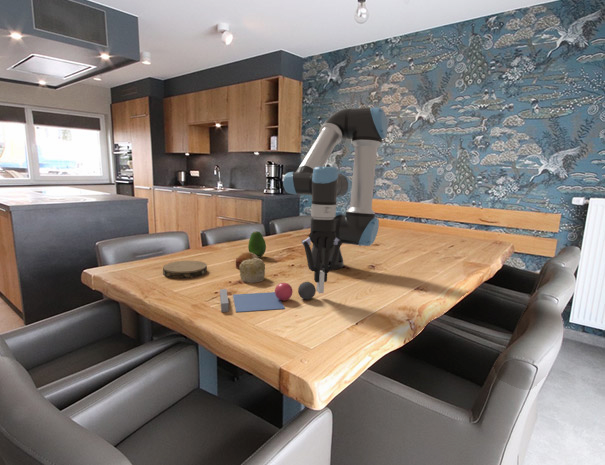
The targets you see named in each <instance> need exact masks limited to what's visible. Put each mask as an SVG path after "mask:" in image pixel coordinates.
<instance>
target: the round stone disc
mask: <svg viewBox="0 0 605 465" xmlns="http://www.w3.org/2000/svg"><path fill="white" fill-rule="evenodd" d="M207 267H208V264H207V263H206V262H204V261H201V260H200V261H199V260H178V261H177V260H176V261H172V262H169V263H165V264H164V265H163V266H162V274H163V276H164V277H166V278H169V279H173V280H174V279H176V280H177V279H178V280H181V279H182V280H183V279H184V280H187V279H195V278H199V277H202V276H203V275H205V274H207V273H208V268H207Z"/></svg>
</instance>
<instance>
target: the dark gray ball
mask: <svg viewBox="0 0 605 465" xmlns="http://www.w3.org/2000/svg"><path fill="white" fill-rule="evenodd" d="M316 290H317V288H316V286H315V285H314V284H313V283H312V282H310V281H303V282H302V283H301V284H299V286H298V288H297V293H298V295H299V296H300V298H301V299H303V300H311V299H312V298H314V297H315V295H316V292H317V291H316Z"/></svg>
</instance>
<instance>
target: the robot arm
mask: <svg viewBox="0 0 605 465" xmlns="http://www.w3.org/2000/svg"><path fill="white" fill-rule="evenodd" d="M318 134H319V135H318V136H317V138H316V140H314V142H313V144H312V145H311V147H310V149H309V150H308V152H306V153H307V154H306V155H305V157H304V158H303V160H302V161H301V163H300V165H299V167H298V168H297V169H296V171H289V172H286V173H285V175H284V177H283V181H282V183H283V184H282V185H283V188H284V191H285V192H286V193H288V194H291V195H296V196H298V195H300V196H311V206H310V207H311V210H310V211H311V212H310V216H311V217H312V218H311V219H310V232H309V235H308V237H307V238H306V239H302V240H301V244H302V245H303V248H304V250H305V251H304V252H305V257H306V260H307V265H308V266H307V267H308V269H309V270H310V271H311V272H314V274H313V276H314V277H313V280H314V282H315V283H316V292H317V293H318V294H324V292H325V291H324V290H325V283H327V281H328V274H329V272H330V271H333V270H340V269H342V268H343V267H344V257H343V255H342V251H341V247H342V245H344V244H346V245H354V246H359V247H361V246H362V247H363V246H364V247H370V246H371V245H373V244H374V242H375V240H376V239H377V238H376V237H377V236H378V235H377V234H378V232H379V226H380V224H379V223H380V221H379V218H378V217H376V213H375V211H374V210H373V196H374V186H375V177H376V175H375V173H376V165H377V164H376V162H377V154H378V152H377V150H378V148H379V147H380V146H381V145H382V143H383V142H382V140H385V139H386V138H387V136H388V121H387V115H386V112H385V110H384V109H383V108H381V107H372V106H370V107H360V108H345V109H340V110H339V111H336V112H335V113H334V114H332V115H330V116H329V117H328V118H327V119H326V120H325V121H324V122H323V123H322V125H321V126H320V128H319V131H318ZM347 139H348V140H351V144H352V145H353V146H354V156H353V171H352V181H351V180H350V178H349V176H347V175H346V174H343V173H339V170H338V168H337V167H336V166H335V167H334V166H325V164H326V163H327V161H328V160H329V158H330V157H331V155H332V152H333V150H334V149H335V147H336V145H338V144H340V143H341V141H342V140H347ZM350 191H351V193H350V207H349V208H348V209H346V210H345V215H344V214H343V213H342V211H341V210H339V211H338V210H337V200H338V199H337V198H341V197H343V196H346V195H347V194H348V193H349V192H350ZM311 243H312V247H311Z"/></svg>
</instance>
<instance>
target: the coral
mask: <svg viewBox="0 0 605 465" xmlns="http://www.w3.org/2000/svg"><path fill="white" fill-rule="evenodd" d="M238 270H239V276H240V280H241V282H245V283H251V284H253V283H261V282H262V281H263V282H264V279H265V276H266V271H265V270H266V264H265V263H264V261H263V260H262V259H261V258H260V257H258V258H254V259H247V260H245V261H243V262H242V263H241V264H240V266H239V269H238Z"/></svg>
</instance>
